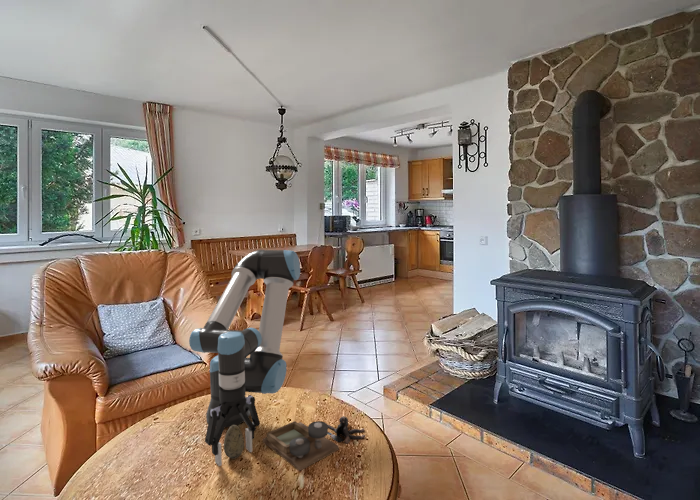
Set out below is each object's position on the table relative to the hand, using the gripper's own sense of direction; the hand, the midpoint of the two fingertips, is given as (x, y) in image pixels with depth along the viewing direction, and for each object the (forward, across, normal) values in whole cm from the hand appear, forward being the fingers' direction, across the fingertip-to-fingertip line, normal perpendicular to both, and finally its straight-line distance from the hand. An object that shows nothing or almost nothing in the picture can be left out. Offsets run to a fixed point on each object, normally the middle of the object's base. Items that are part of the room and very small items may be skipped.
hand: (234, 456), depth 120 cm
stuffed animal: (+1, +33, -13) cm, 35 cm away
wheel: (-6, +21, -15) cm, 26 cm away
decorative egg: (0, 0, 0) cm, 0 cm away
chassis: (0, +18, -9) cm, 20 cm away
